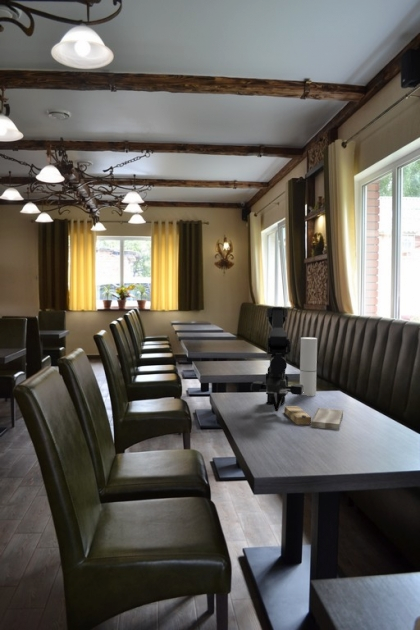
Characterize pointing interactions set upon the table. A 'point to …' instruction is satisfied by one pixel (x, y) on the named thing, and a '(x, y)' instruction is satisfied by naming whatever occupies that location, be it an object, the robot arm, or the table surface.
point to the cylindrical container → (308, 365)
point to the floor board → (327, 418)
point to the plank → (297, 415)
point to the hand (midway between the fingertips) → (276, 411)
